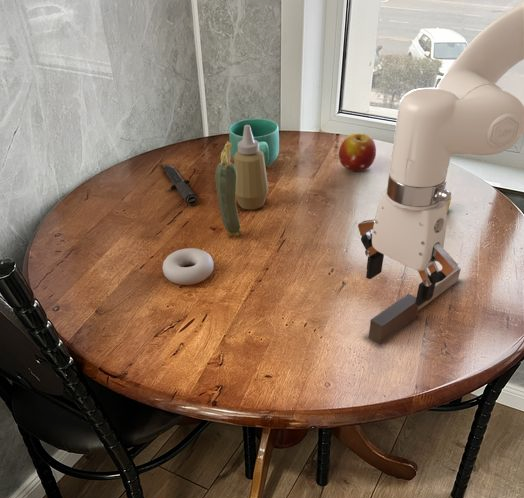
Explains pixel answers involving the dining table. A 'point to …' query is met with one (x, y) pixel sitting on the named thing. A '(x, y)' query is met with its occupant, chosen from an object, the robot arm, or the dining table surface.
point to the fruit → (357, 152)
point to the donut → (188, 275)
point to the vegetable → (227, 191)
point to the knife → (181, 185)
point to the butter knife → (404, 311)
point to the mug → (257, 137)
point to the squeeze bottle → (250, 172)
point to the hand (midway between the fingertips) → (397, 288)
